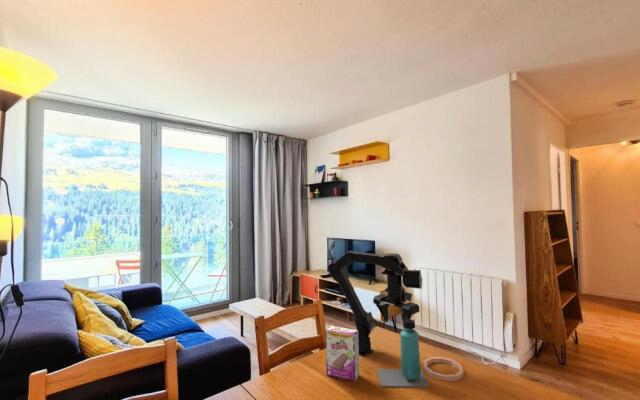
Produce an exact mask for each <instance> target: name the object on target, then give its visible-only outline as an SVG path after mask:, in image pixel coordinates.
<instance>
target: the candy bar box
mask: <svg viewBox="0 0 640 400" xmlns="http://www.w3.org/2000/svg"><path fill="white" fill-rule="evenodd" d="M325 359H326V362H325V363H326V364H325V365H326V366H325V367H326V370H325V371H326V375H327V376H329V377H334V378H338V379H343V380H345V381H351V382H356V381H357V380H358V377H359V376H360V355H359V342H358V330H356V329H355V328H354V329H353V328H352V329H351V328H346V327H341V326H336V325H329V326H328V327H327V328H326V329H325Z"/></svg>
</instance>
